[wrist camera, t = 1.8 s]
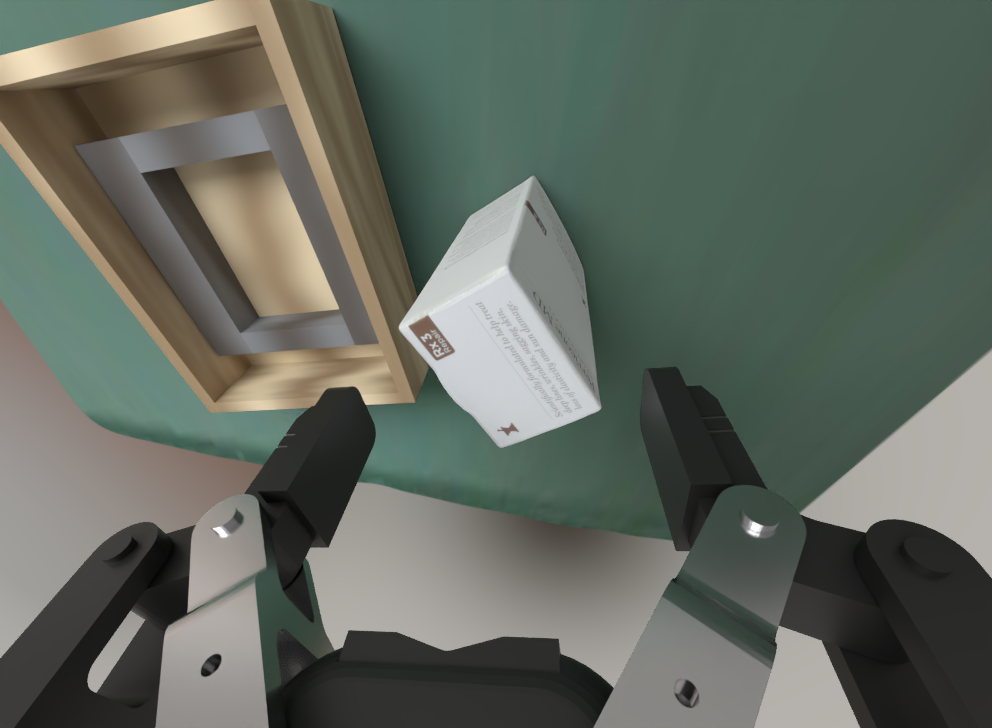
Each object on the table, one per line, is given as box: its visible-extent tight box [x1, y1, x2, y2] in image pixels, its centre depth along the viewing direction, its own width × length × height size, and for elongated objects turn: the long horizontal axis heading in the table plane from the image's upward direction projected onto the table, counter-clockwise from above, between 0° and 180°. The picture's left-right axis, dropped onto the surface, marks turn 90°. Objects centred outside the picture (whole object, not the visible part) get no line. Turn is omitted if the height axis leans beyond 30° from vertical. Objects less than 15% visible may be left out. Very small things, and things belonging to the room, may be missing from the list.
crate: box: [0, 0, 430, 413], centre depth 21 cm, size 14×18×5 cm
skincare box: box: [399, 176, 602, 448], centre depth 17 cm, size 6×4×12 cm
